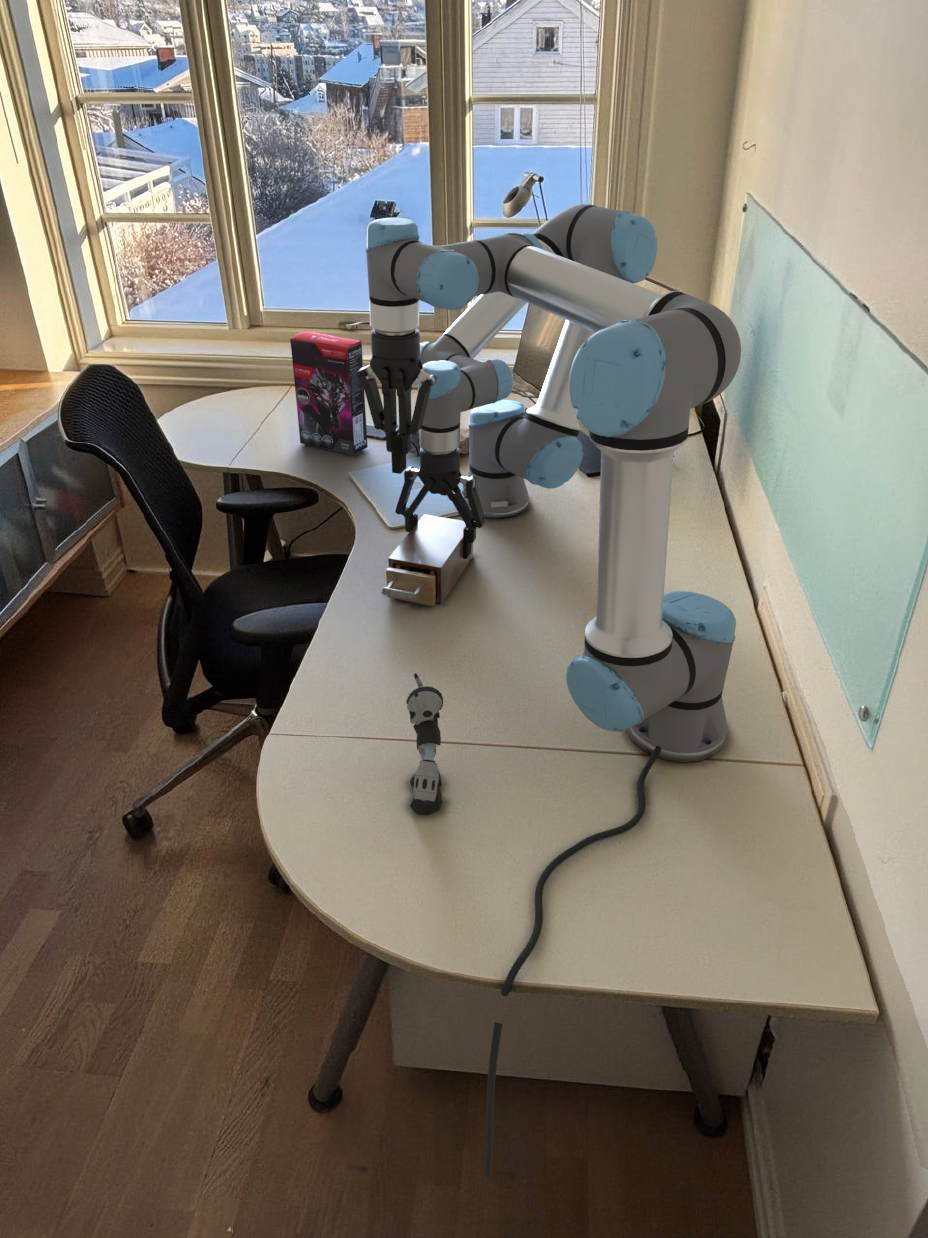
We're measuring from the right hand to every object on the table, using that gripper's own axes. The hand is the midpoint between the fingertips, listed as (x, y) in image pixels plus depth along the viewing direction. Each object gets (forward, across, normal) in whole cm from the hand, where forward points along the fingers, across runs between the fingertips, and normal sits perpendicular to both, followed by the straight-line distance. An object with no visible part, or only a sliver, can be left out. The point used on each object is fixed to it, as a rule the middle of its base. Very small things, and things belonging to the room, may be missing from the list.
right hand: (399, 469), depth 154 cm
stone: (+29, +22, -75) cm, 83 cm away
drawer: (+28, 0, -9) cm, 29 cm away
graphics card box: (+29, +45, -64) cm, 84 cm away
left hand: (+26, 0, -19) cm, 32 cm away
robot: (+28, -21, +43) cm, 55 cm away
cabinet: (+29, 0, -14) cm, 32 cm away
